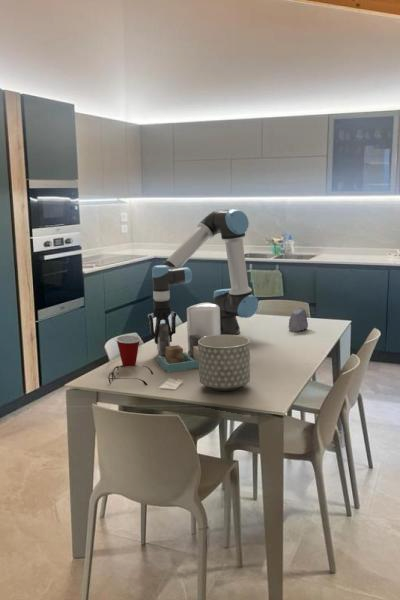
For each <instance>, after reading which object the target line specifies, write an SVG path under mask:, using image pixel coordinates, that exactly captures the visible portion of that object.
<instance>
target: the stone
mask: <svg viewBox="0 0 400 600" xmlns="http://www.w3.org/2000/svg"><path fill="white" fill-rule="evenodd" d="M307 318H308V317H307V311H306V310H305V309H304V308H296V309H293V311H292V312H291V314H290V318H289V321H288V329H289V330H290V331H292V330H294V331H293V332H302V331H305V330H307V329H308V327H309V324H308V319H307ZM304 329H305V330H304ZM301 330H302V331H301Z"/></svg>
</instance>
